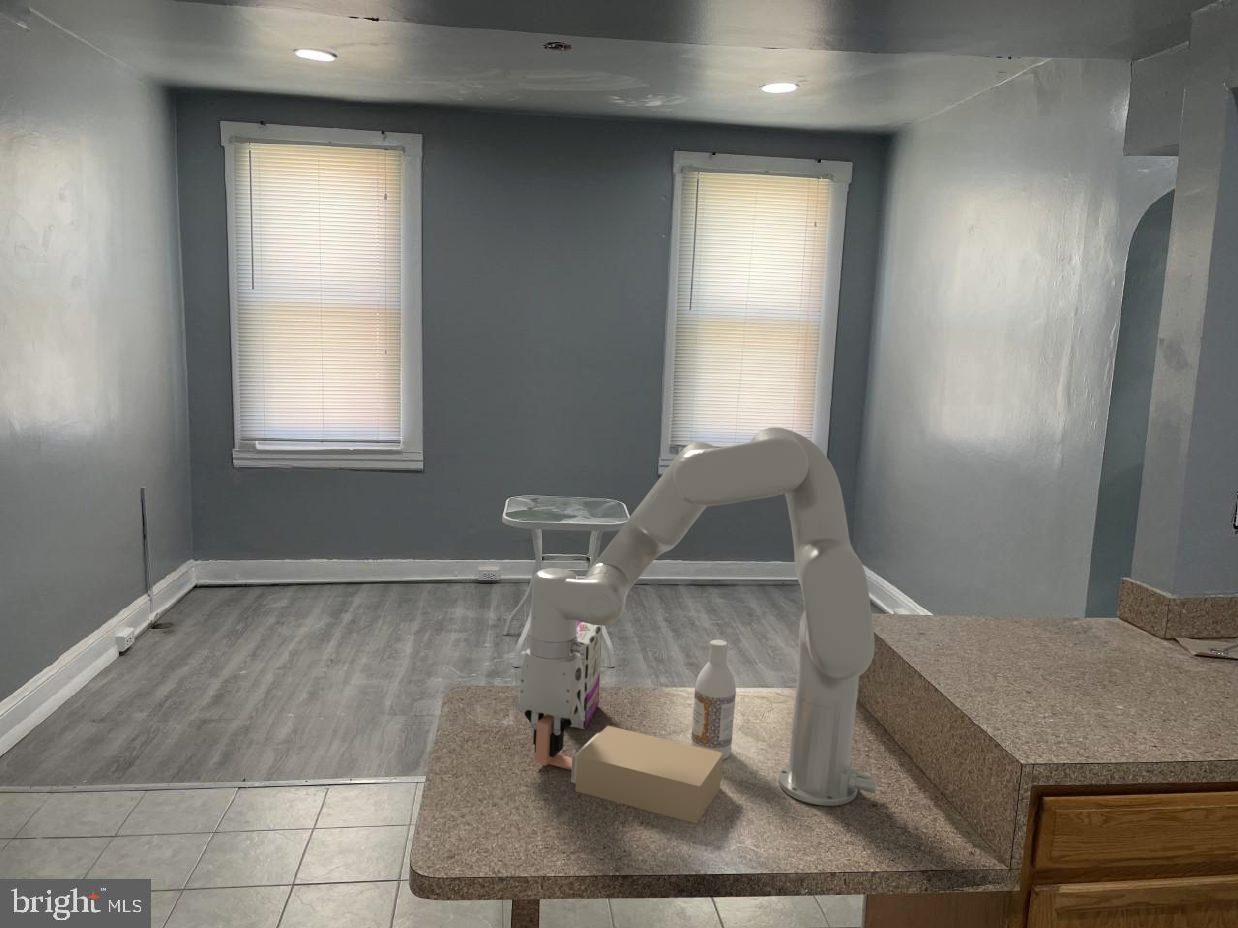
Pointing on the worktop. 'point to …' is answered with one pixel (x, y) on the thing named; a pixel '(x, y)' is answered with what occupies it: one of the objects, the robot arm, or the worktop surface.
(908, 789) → the worktop surface
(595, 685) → the candy bar box
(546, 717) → the tray
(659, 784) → the sleeve
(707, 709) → the bath foam
